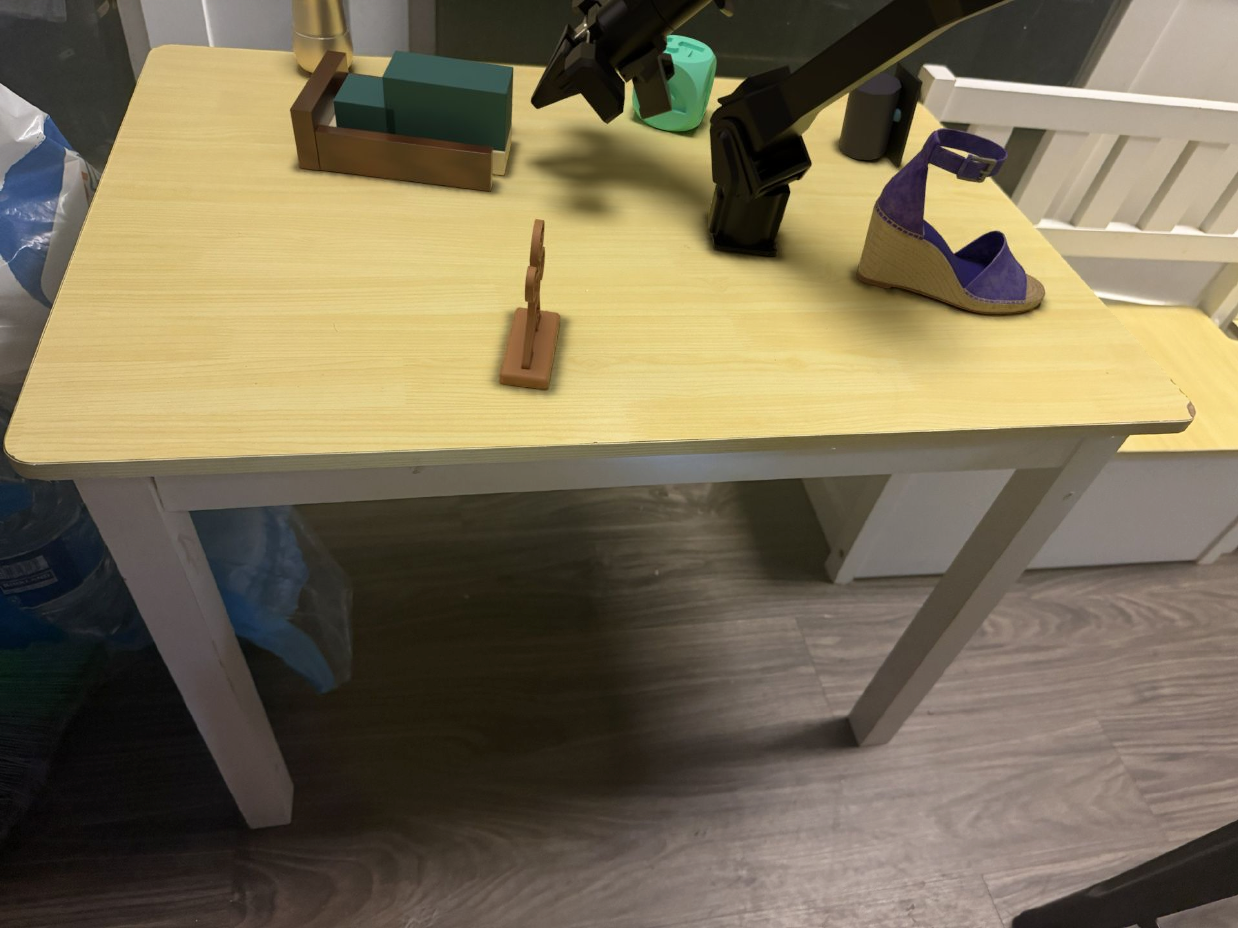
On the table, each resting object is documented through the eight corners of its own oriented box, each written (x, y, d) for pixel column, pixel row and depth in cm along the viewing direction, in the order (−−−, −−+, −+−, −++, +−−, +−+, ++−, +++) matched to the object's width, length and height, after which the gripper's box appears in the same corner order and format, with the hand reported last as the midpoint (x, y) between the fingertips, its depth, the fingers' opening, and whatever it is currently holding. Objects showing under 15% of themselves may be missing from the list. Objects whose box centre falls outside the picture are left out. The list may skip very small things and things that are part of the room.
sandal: (1048, 330, 80) (1140, 190, 69) (848, 289, 80) (908, 143, 69) (1033, 283, 85) (1116, 146, 74) (846, 245, 85) (901, 103, 74)
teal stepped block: (511, 144, 91) (513, 65, 84) (504, 175, 86) (506, 95, 80) (345, 122, 89) (335, 40, 83) (329, 153, 84) (317, 69, 78)
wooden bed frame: (505, 128, 93) (506, 74, 88) (490, 192, 83) (491, 135, 79) (334, 105, 91) (327, 50, 87) (299, 168, 82) (289, 109, 77)
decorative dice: (691, 138, 97) (705, 70, 91) (628, 121, 98) (637, 51, 92) (707, 112, 102) (721, 45, 96) (646, 95, 103) (657, 28, 97)
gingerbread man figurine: (515, 314, 71) (520, 188, 62) (560, 321, 71) (571, 195, 62) (498, 383, 65) (502, 253, 56) (547, 390, 65) (558, 262, 56)
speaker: (894, 144, 103) (920, 59, 95) (900, 168, 99) (926, 83, 91) (834, 139, 103) (854, 55, 95) (836, 163, 99) (857, 78, 91)
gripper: (712, 115, 75) (580, 209, 82) (699, 36, 87) (586, 123, 94) (639, 11, 68) (503, 123, 75) (636, -59, 81) (520, 43, 88)
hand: (533, 104), depth 84 cm, fingers closed
